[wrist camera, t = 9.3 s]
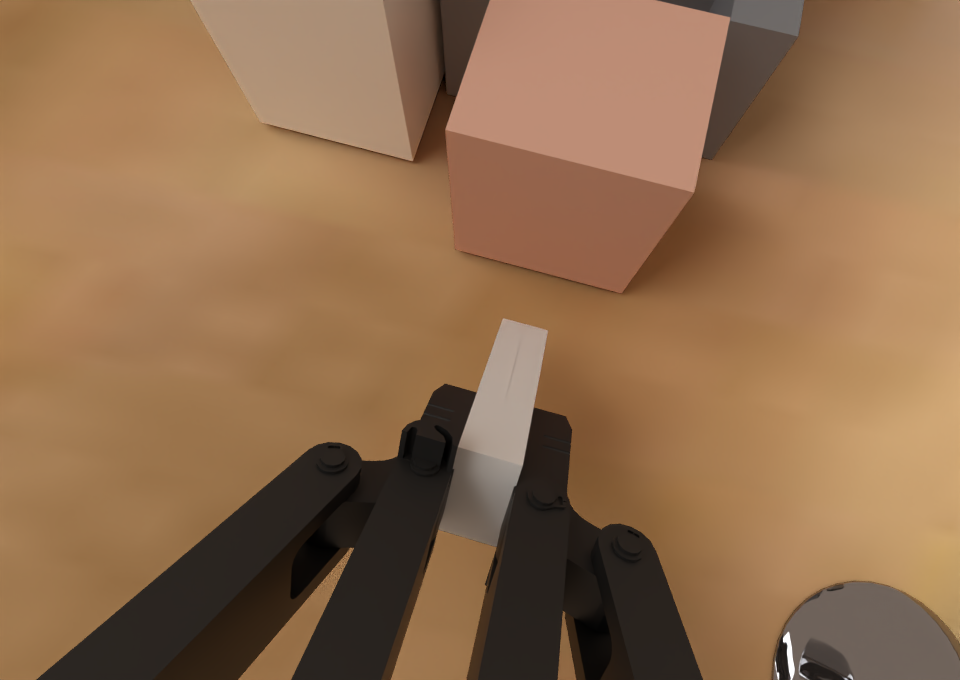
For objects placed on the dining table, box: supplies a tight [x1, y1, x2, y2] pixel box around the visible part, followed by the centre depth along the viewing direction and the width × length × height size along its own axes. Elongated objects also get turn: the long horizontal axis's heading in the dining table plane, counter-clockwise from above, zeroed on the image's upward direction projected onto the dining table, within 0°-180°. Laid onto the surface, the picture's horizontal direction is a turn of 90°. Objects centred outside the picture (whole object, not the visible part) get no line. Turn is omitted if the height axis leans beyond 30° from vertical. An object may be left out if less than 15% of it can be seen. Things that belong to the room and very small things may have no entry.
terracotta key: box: [445, 0, 730, 293], centre depth 20 cm, size 7×6×8 cm
